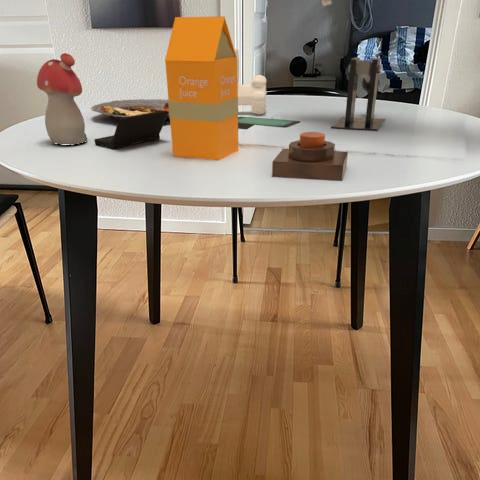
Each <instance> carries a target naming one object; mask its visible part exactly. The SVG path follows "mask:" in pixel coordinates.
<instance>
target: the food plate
mask: <svg viewBox="0 0 480 480" xmlns="http://www.w3.org/2000/svg"><path fill="white" fill-rule="evenodd" d="M168 101H169V100H168V99H164V98H163V99H161V98H160V99H156V98H155V99H154V98H153V99H151V98H149V99H146V98H145V99H144V98H142V99H141V98H139V99H122V100H121V99H119V100H118V99H117V100H111V101H105V102H101V103H98V104H95V105H93V106H91V107H90V110H91V111H92V112H95V113H99V114H102V115H104V116H105V117H113V118H115V119H116V120H117V119H118V118H123V117H129V116H135V115H141V114H147V113H153V112H159V111H165V110H167V111H168V115H167V118H166V119H170V116H169V104H168Z"/></svg>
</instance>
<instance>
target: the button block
mask: <svg viewBox="0 0 480 480" xmlns="http://www.w3.org/2000/svg"><path fill="white" fill-rule="evenodd" d="M299 145H300V139H298V140H295V141H291V142H290V143H288V148H282V149H281V150H280V151H279V152H278V154H277V155H276V157H275V158H274V159H273V160H272V161H271V162H272V164H271V166H272V167H271V168H272V169H271V178H284V179H285V178H286V179H301V180H302V179H303V180H319V181H334V182H335V181H338V182H342V181H343V179H344V176H345V172H346V170H347V165H348V155H349V152H348V151H344V150H343V151H341V150H338V151H337V150H336V143H334V142H333V141H329V140H325V145H324V147H317V148H309V147H301V146H299Z"/></svg>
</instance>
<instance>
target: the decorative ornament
mask: <svg viewBox="0 0 480 480" xmlns="http://www.w3.org/2000/svg"><path fill="white" fill-rule="evenodd" d="M59 58H60V59H57V58H56V59H55V58H52V59H49V60H47V61H46V62H44V63H43V64H42V66H41V67H40V69H39V71H38V73H37V77H36V86H37V89H39V90H40V91H43V92H44V93H45V94H46V95H47V100H48V101H47V105H46V109H45V113H44V114H45V115H44V124H45V130H46V133H47V136H48V137H49V140H50V141H51V142H52V143H53V144H54V143H57V144H78V143H82V142H85V141H86V142H88V137H87V134H86V133H85V132H86V125H85V123H86V122H85V118H84V116H83V113H82V112H81V109H80V108H79V105H78V104H77V103H76V101H75V97H79V96H80V95H82V93H83V86H82V83H81V80H80V78H79V76H78V75H77V73H76V72H75V71H74V70H73V68H72V67H74V65H75V63H76V60H75V58H74V57H73V56H72V55H71V54H69V53H66V52H64V53H61V54H60V56H59ZM57 144H56V145H57ZM78 145H79V144H78Z"/></svg>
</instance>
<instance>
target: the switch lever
mask: <svg viewBox="0 0 480 480" xmlns="http://www.w3.org/2000/svg"><path fill="white" fill-rule="evenodd" d="M371 67H372V60H370V59H369V60H368V59H367V60H366V59H365V60H364V59H360V60H359V65H358V72H357V74H358V78H361V79H362V81H361V86H362V88H363V90H364V91H365V92H368V93H369V85H370V76H371ZM379 86H380V78H379V77H378V86H377V89H378V88H379Z"/></svg>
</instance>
